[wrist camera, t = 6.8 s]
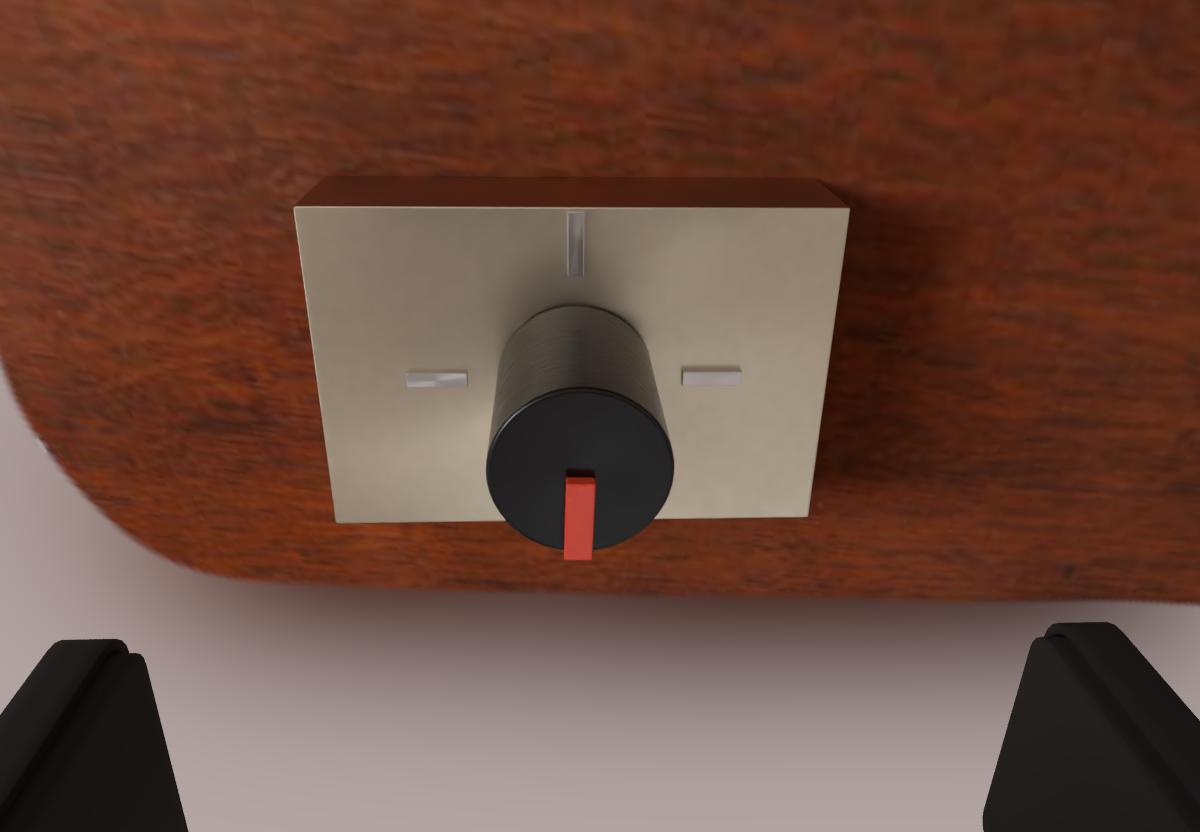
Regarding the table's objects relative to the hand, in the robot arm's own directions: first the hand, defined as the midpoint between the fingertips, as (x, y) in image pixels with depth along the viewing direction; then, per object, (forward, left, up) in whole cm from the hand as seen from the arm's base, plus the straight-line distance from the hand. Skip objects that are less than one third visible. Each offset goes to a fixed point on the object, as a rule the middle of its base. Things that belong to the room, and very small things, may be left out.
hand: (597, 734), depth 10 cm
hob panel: (-1, -1, -15) cm, 15 cm away
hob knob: (-1, -1, -12) cm, 12 cm away
